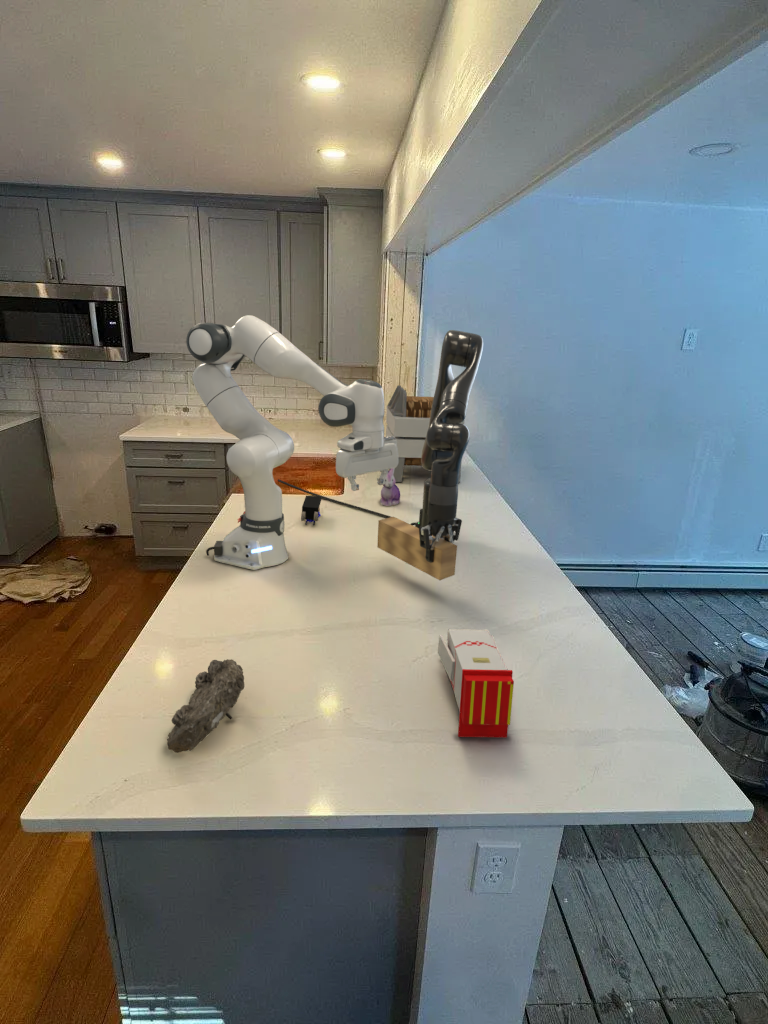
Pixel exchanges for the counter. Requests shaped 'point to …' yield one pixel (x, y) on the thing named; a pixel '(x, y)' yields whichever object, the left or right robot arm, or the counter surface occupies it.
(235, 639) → the counter surface
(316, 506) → the figurine character
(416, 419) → the grey wooden crate
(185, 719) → the fossil
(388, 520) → the bar
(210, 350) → the left robot arm
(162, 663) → the counter surface
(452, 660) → the toy
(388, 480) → the figurine
